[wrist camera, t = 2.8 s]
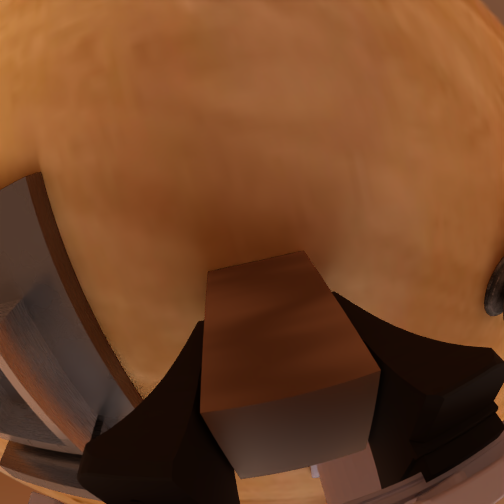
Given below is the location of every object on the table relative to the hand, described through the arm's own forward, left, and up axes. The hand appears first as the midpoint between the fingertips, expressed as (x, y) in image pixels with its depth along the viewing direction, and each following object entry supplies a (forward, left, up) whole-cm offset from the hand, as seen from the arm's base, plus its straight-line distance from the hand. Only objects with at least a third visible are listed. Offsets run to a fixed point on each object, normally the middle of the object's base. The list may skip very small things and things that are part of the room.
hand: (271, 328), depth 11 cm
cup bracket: (+15, +1, -2) cm, 15 cm away
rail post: (0, 0, -2) cm, 2 cm away
